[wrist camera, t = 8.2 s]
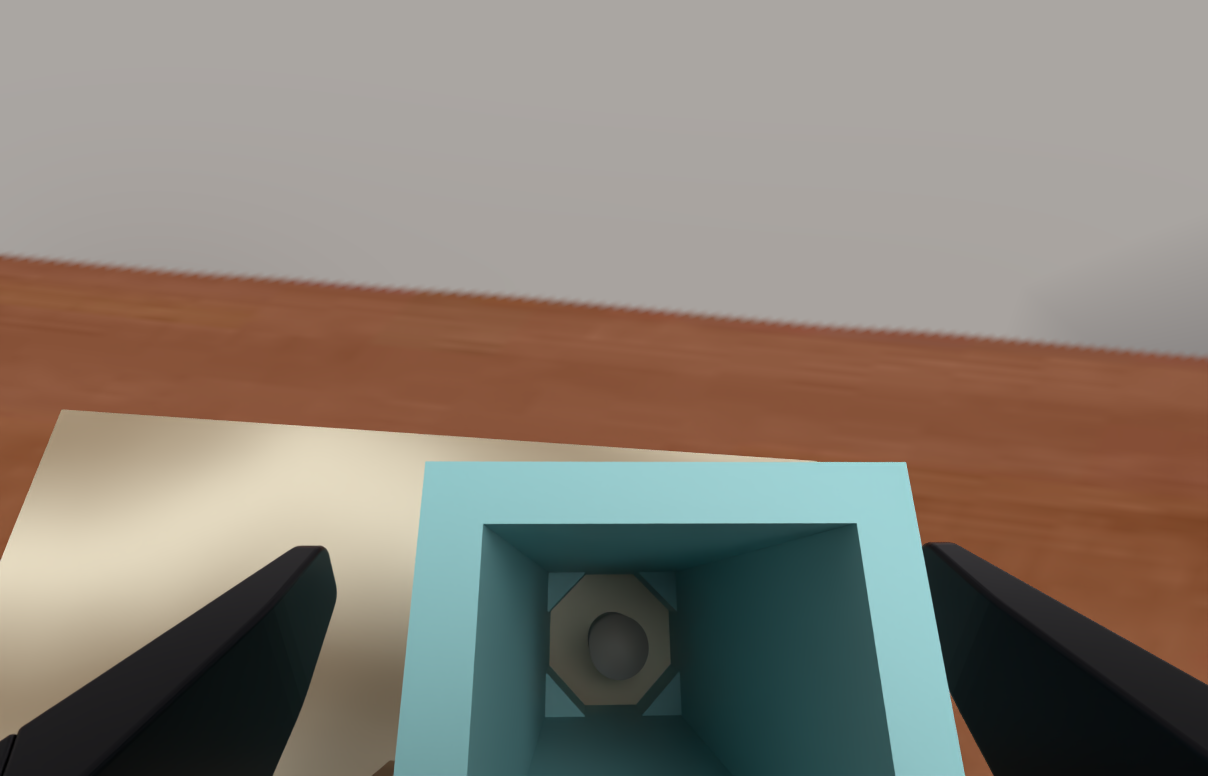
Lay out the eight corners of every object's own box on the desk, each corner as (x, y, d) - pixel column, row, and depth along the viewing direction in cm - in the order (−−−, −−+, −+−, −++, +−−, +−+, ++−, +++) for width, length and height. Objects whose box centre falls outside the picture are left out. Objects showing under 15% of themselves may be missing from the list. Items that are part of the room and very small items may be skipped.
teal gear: (779, 818, 13) (1483, 1603, 3) (439, 825, 13) (-119, 1729, 3) (748, 483, 16) (1060, 271, 6) (466, 483, 16) (239, 260, 5)
